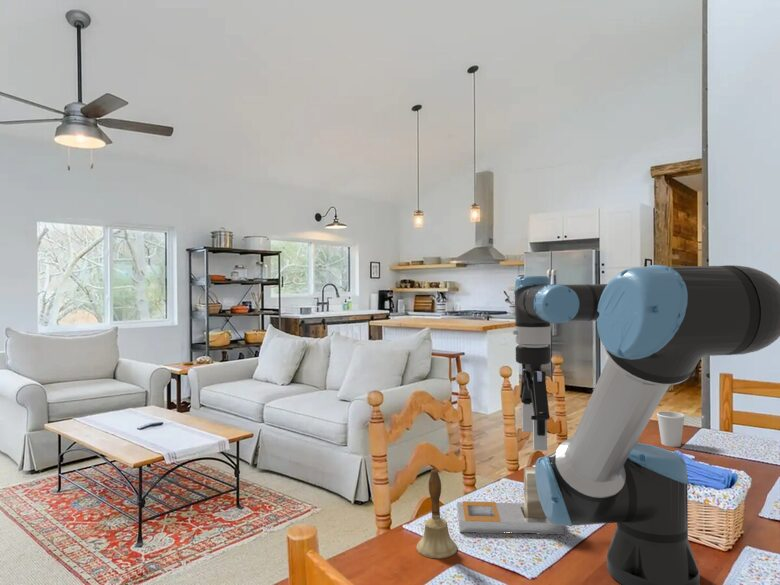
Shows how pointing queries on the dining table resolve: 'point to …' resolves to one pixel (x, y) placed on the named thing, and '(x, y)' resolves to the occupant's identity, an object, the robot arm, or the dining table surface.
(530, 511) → the peg
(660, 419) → the dixie cup
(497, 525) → the grey board
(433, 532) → the hand bell
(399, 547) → the dining table surface
